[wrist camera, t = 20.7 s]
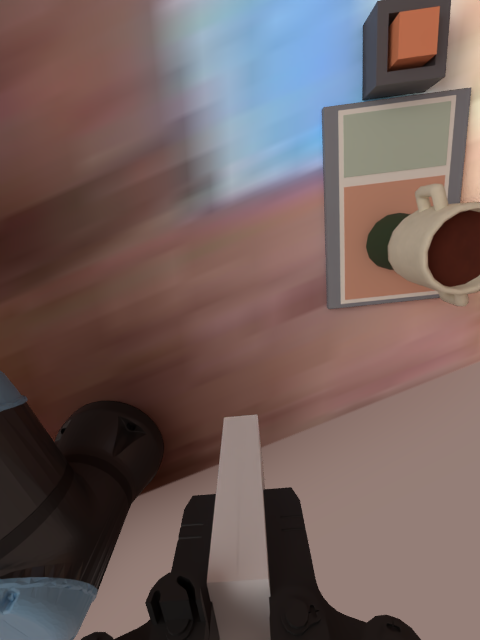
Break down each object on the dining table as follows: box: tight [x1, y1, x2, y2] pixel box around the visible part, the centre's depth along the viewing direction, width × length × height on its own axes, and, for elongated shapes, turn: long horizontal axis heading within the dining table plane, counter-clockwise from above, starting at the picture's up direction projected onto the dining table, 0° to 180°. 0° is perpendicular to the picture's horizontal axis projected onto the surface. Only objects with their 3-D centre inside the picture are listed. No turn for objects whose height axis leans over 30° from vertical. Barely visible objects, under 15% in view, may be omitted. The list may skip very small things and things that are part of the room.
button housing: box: [362, 0, 451, 100], centre depth 29 cm, size 6×6×4 cm
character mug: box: [366, 184, 480, 306], centre depth 29 cm, size 11×7×13 cm, turn 23°
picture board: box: [322, 88, 471, 309], centre depth 35 cm, size 15×22×1 cm
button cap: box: [387, 6, 440, 72], centre depth 28 cm, size 3×3×3 cm
